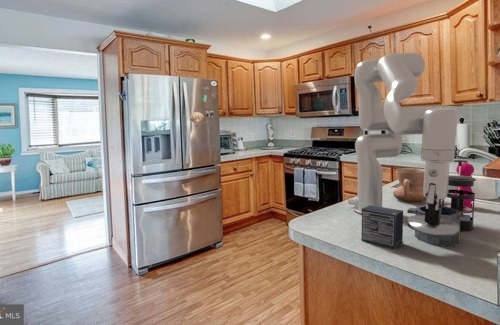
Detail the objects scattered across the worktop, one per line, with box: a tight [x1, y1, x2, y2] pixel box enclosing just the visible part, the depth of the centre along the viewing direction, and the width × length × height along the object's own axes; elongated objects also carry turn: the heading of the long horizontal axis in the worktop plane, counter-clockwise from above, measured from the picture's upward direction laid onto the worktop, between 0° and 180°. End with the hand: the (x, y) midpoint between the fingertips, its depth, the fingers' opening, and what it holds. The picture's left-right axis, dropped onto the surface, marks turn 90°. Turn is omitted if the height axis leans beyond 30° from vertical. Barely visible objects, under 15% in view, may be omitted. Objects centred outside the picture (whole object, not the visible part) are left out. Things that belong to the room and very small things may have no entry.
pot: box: [406, 204, 471, 247], centre depth 94 cm, size 16×12×9 cm
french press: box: [441, 159, 476, 232], centre depth 102 cm, size 12×9×23 cm
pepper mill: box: [452, 158, 475, 209], centre depth 124 cm, size 7×7×20 cm
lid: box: [406, 206, 460, 236], centre depth 83 cm, size 12×12×6 cm
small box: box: [360, 205, 404, 250], centre depth 93 cm, size 11×6×10 cm, turn 45°
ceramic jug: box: [392, 167, 427, 203], centre depth 137 cm, size 18×14×14 cm
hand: (432, 220), depth 84 cm, fingers closed on lid, 3 cm apart
